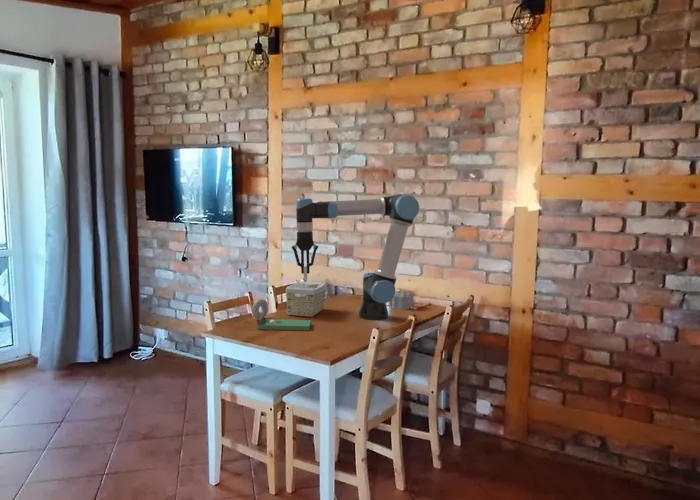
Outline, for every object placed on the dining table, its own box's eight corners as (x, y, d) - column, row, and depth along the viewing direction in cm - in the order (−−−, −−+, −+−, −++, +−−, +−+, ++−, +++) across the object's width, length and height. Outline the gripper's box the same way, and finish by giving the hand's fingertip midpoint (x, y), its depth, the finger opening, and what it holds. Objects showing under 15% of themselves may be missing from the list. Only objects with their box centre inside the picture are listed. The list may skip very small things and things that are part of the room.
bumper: (264, 319, 277) (264, 314, 277) (260, 325, 266) (260, 319, 265) (261, 319, 277) (261, 314, 277) (257, 325, 266) (257, 319, 265)
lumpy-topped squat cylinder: (389, 307, 321) (390, 292, 320) (400, 304, 332) (400, 289, 331) (406, 310, 315) (407, 294, 314) (416, 306, 326) (417, 291, 325)
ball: (271, 318, 273) (268, 324, 273) (271, 318, 270) (267, 324, 270) (277, 321, 273) (274, 327, 273) (277, 322, 270) (273, 328, 270)
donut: (255, 321, 282) (255, 301, 281) (250, 320, 284) (250, 300, 283) (269, 317, 290) (269, 298, 289) (264, 316, 292) (264, 297, 291)
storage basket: (299, 306, 318) (299, 280, 317) (327, 308, 314) (327, 282, 313) (284, 315, 295) (284, 287, 293) (314, 318, 291) (314, 289, 290)
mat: (311, 324, 278) (311, 320, 278) (309, 330, 266) (309, 326, 266) (261, 323, 278) (261, 319, 277) (257, 329, 266) (257, 325, 266)
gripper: (290, 232, 268) (291, 281, 271) (318, 231, 269) (319, 281, 272) (291, 230, 276) (292, 279, 279) (318, 230, 276) (319, 278, 279)
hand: (305, 280), depth 275 cm, fingers closed
